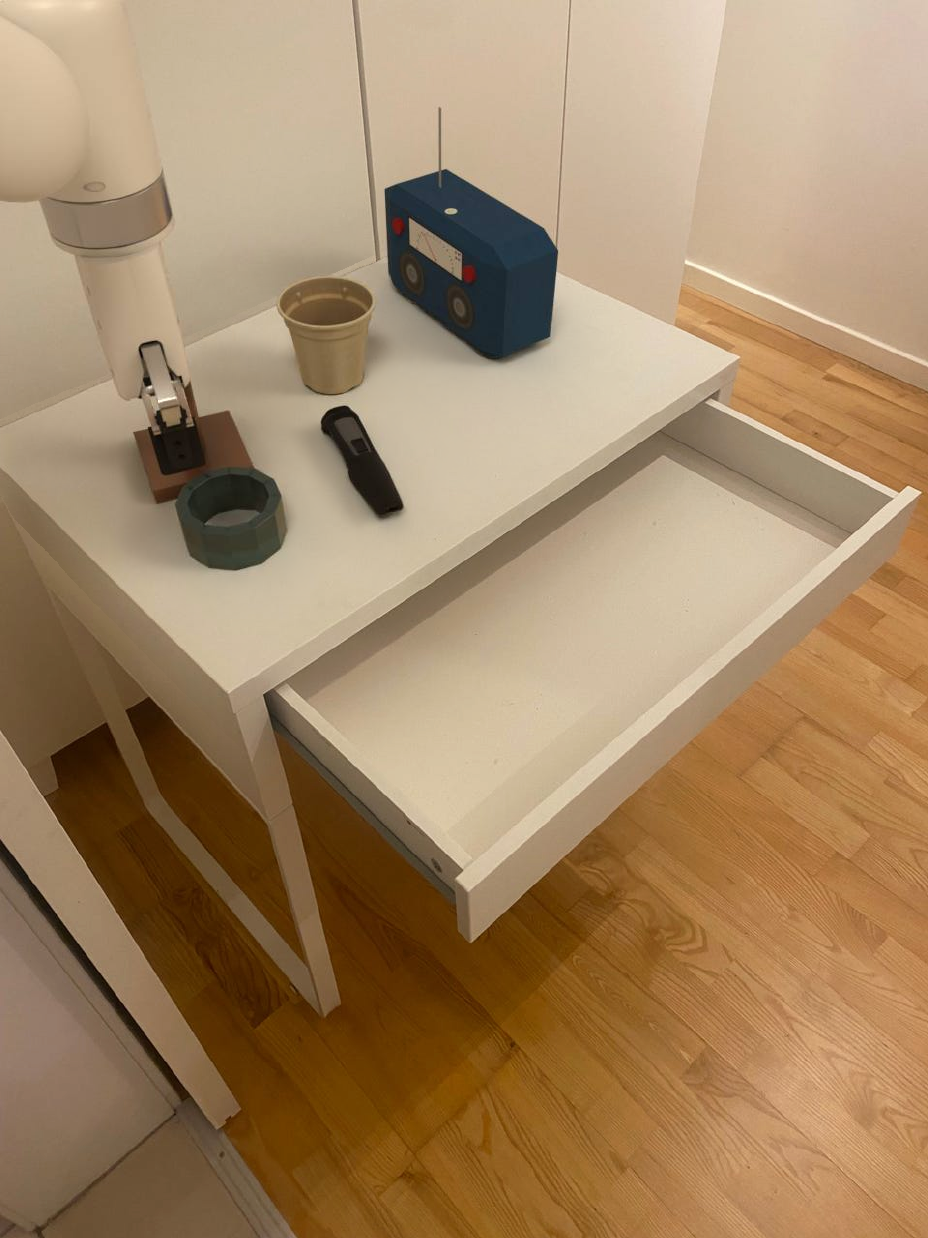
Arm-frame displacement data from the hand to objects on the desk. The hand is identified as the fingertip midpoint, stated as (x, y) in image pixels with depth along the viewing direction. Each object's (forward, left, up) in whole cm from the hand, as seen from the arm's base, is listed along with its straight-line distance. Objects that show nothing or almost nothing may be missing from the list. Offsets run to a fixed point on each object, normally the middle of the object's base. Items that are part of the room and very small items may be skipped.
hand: (169, 429), depth 72 cm
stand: (+2, +11, -12) cm, 17 cm away
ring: (+3, 0, -12) cm, 13 cm away
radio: (+35, +25, -12) cm, 45 cm away
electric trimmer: (+16, +4, -12) cm, 21 cm away
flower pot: (+18, +19, -12) cm, 29 cm away
